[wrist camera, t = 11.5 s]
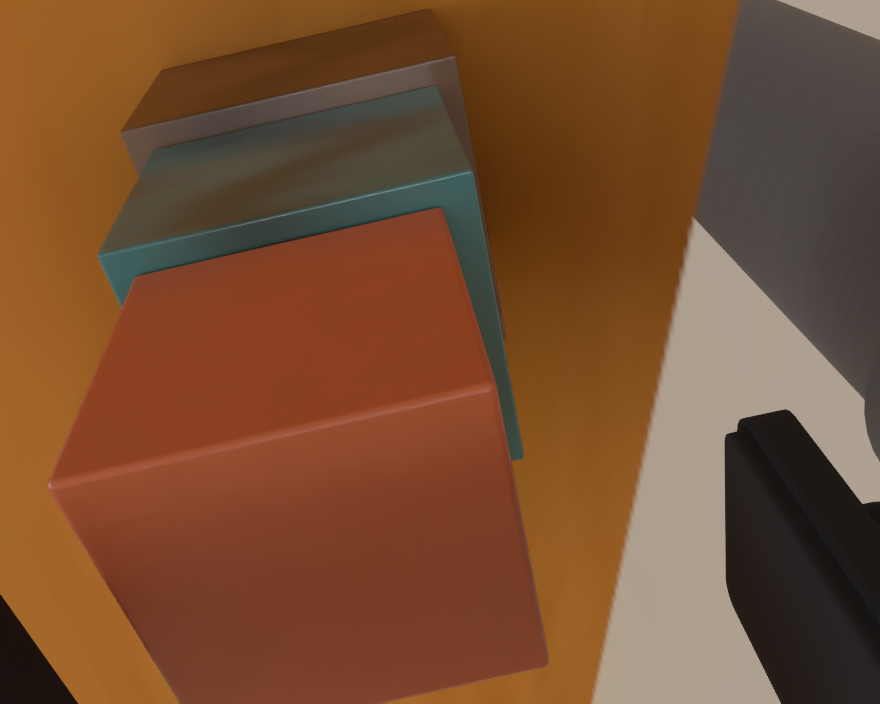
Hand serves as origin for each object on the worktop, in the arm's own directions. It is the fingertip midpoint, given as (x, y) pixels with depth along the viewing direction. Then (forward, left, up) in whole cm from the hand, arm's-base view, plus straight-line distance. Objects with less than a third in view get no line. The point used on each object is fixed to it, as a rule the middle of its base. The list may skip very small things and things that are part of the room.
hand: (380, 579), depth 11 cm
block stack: (+1, 0, -15) cm, 15 cm away
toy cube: (+1, 0, -5) cm, 5 cm away
